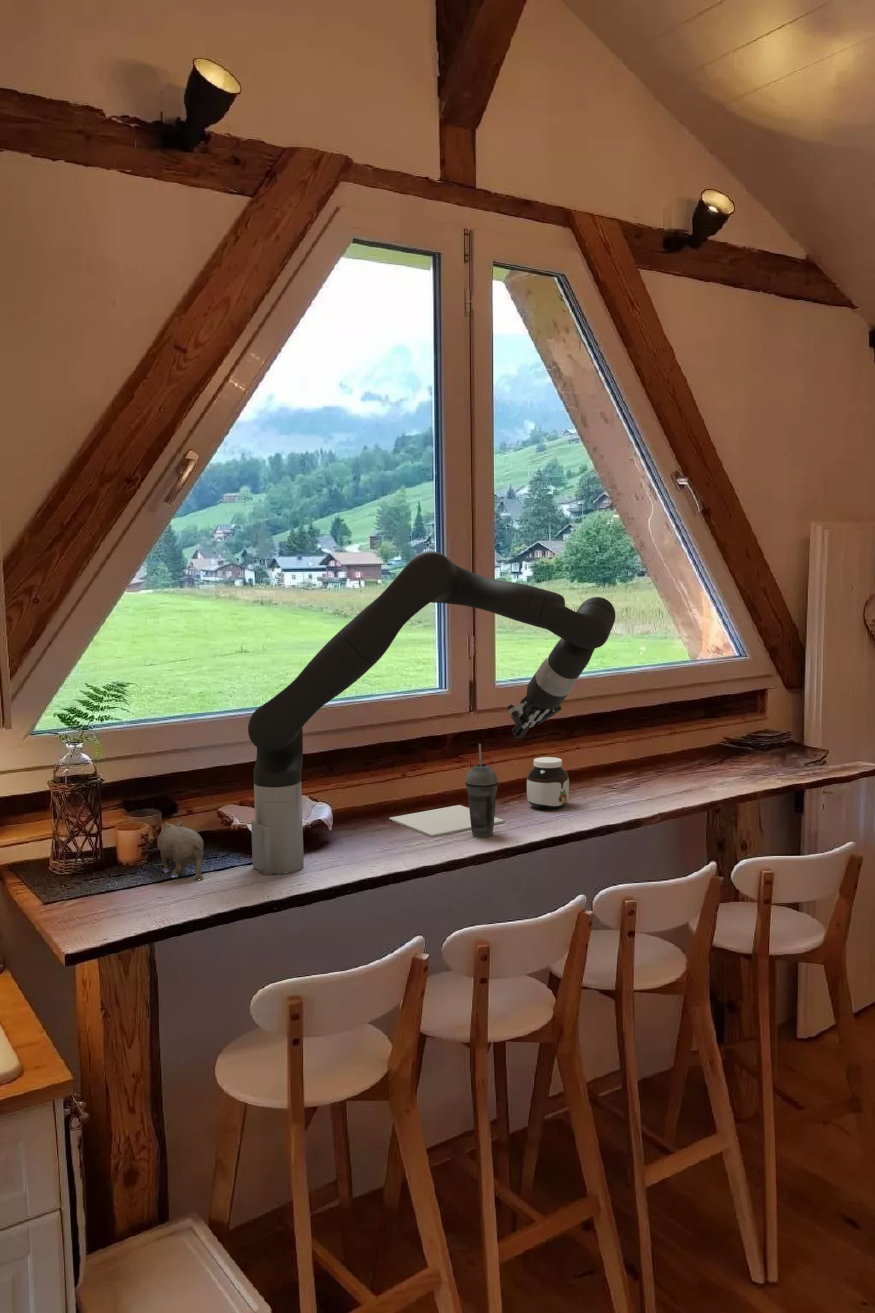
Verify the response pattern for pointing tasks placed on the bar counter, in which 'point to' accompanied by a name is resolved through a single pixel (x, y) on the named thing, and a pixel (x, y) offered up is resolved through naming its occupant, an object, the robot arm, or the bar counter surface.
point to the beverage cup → (482, 798)
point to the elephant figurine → (180, 847)
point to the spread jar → (547, 784)
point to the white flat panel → (439, 820)
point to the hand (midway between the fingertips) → (516, 734)
